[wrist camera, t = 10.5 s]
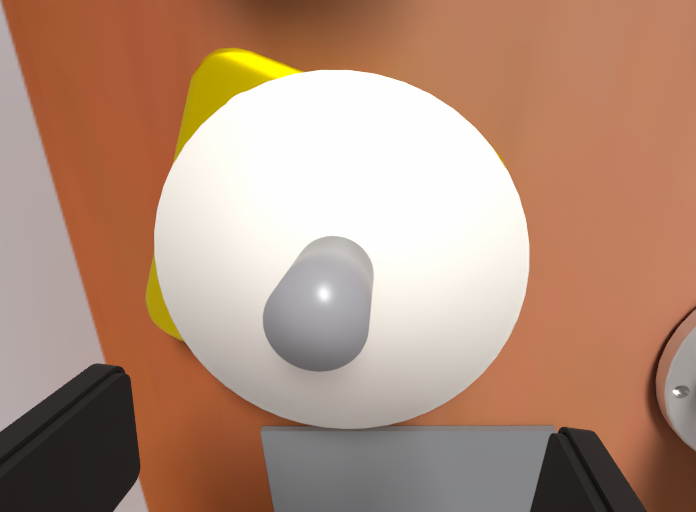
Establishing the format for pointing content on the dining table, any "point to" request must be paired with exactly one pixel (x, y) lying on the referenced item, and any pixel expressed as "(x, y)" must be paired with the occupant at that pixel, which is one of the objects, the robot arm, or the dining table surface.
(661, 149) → the dining table surface
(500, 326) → the lid
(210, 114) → the element tile
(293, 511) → the mat
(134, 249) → the dining table surface
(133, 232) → the dining table surface
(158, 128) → the dining table surface
